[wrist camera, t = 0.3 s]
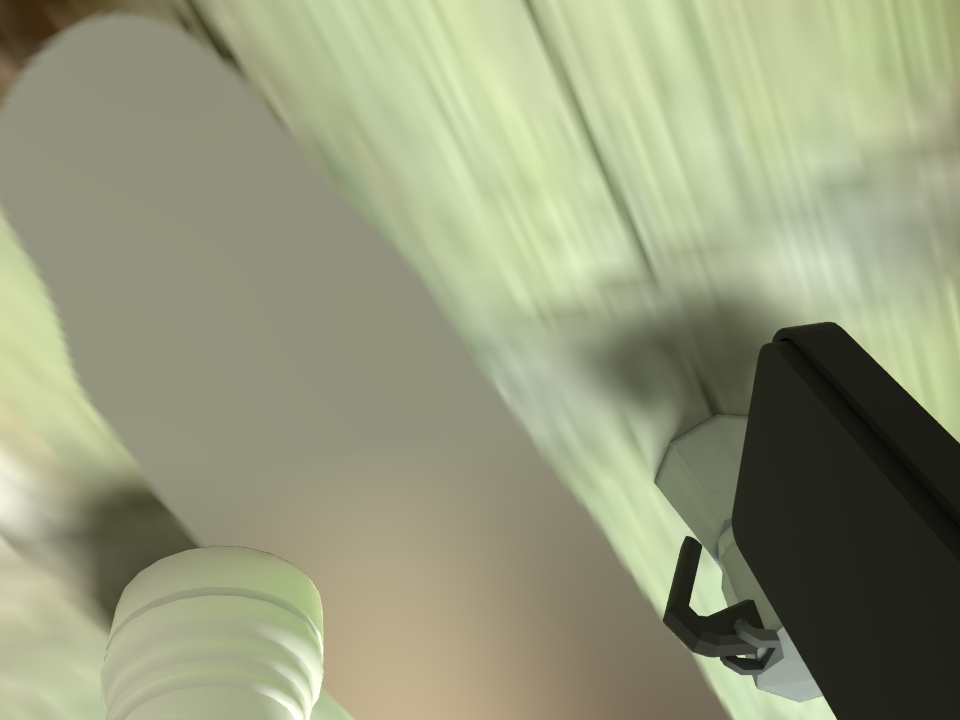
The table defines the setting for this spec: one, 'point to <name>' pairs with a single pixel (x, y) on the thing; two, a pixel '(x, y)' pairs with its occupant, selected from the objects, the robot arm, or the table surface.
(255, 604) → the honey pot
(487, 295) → the table surface
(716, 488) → the coffee maker
